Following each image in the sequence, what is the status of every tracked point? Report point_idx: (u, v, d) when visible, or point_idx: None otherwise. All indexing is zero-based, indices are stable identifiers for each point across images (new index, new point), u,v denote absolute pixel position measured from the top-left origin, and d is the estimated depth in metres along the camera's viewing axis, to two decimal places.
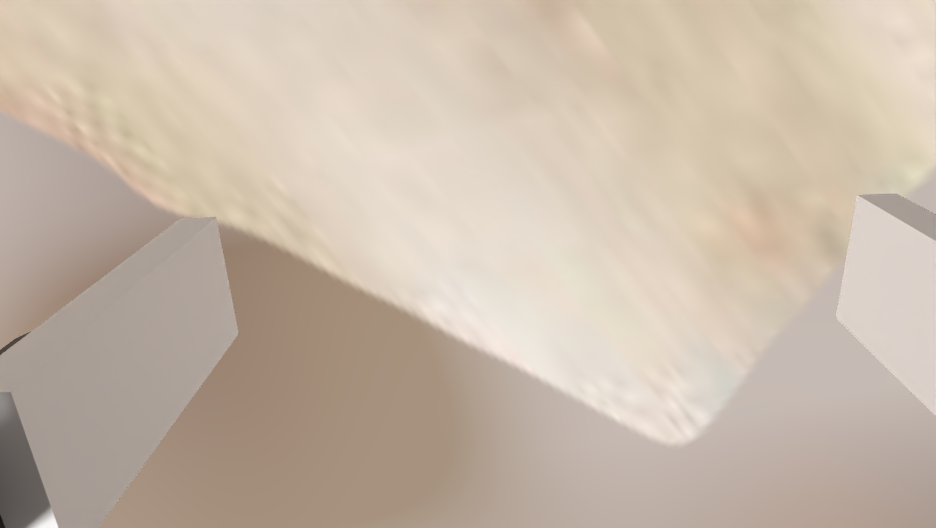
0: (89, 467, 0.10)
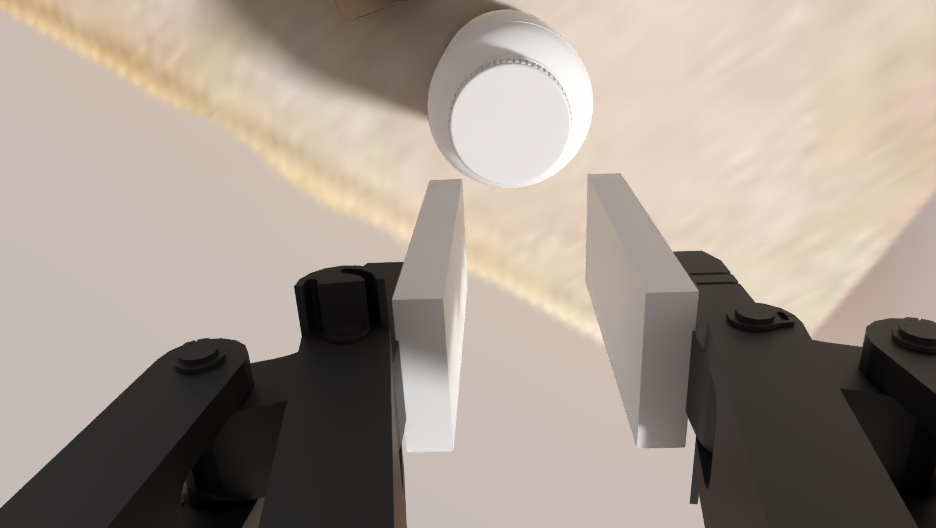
0: (453, 373, 0.11)
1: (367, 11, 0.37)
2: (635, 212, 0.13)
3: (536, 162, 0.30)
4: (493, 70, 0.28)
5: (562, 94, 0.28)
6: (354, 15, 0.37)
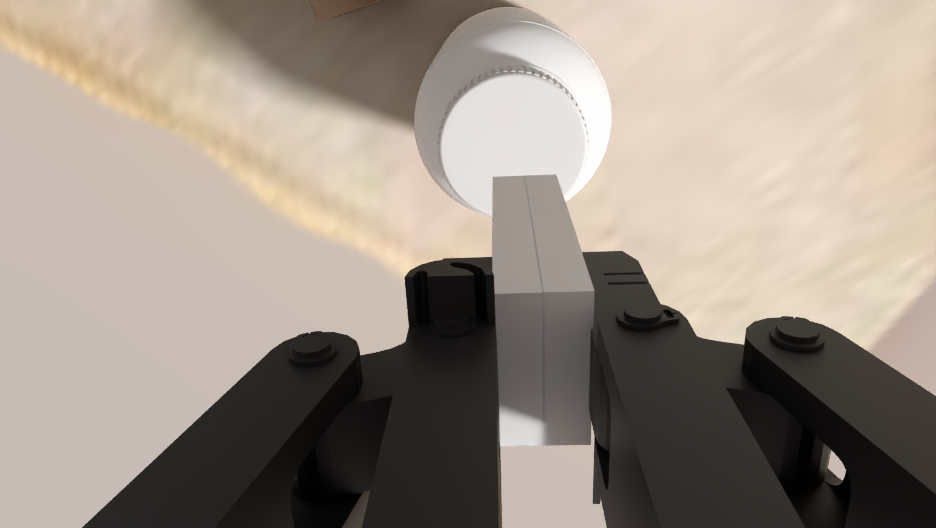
0: None
1: (346, 9, 0.32)
2: (558, 213, 0.13)
3: None
4: (492, 82, 0.23)
5: (577, 111, 0.23)
6: (331, 14, 0.32)
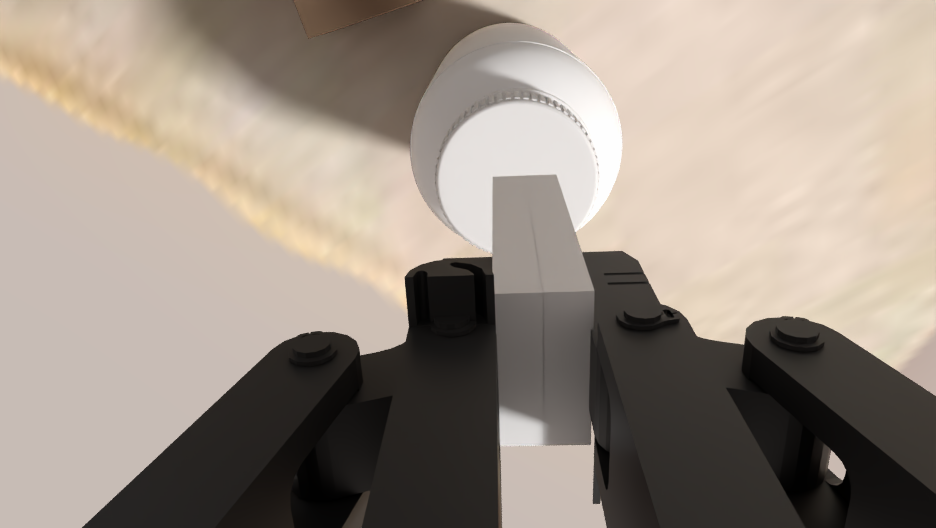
0: None
1: (338, 26, 0.30)
2: (558, 213, 0.13)
3: None
4: (494, 109, 0.21)
5: (586, 141, 0.21)
6: (322, 31, 0.30)
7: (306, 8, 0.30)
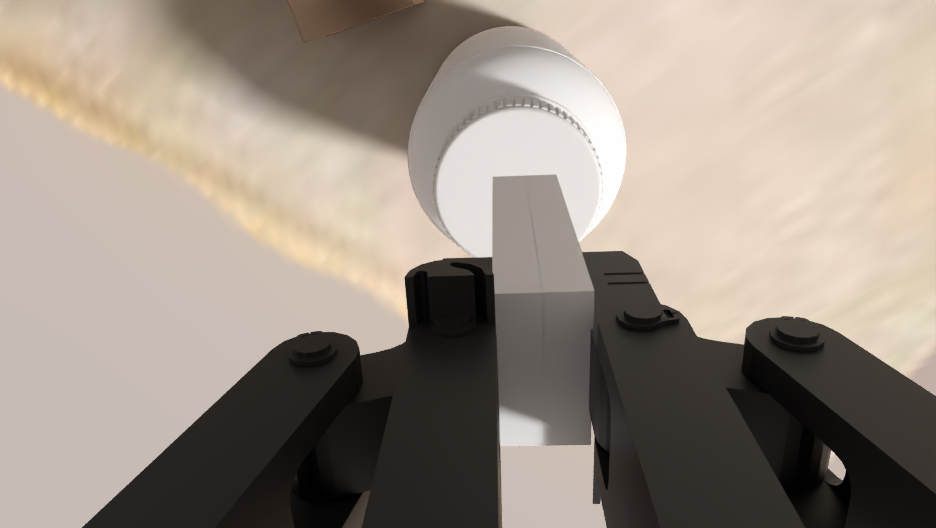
0: None
1: (334, 30, 0.29)
2: (558, 213, 0.13)
3: None
4: (494, 117, 0.20)
5: (590, 149, 0.21)
6: (318, 35, 0.29)
7: (302, 11, 0.29)
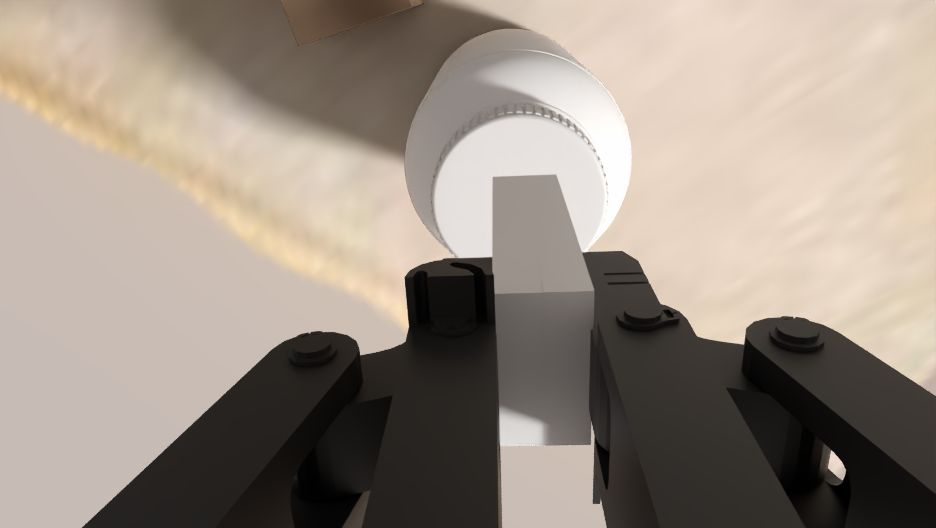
0: None
1: (329, 32, 0.28)
2: (558, 213, 0.13)
3: None
4: (495, 124, 0.19)
5: (594, 158, 0.20)
6: (313, 38, 0.28)
7: (296, 13, 0.28)
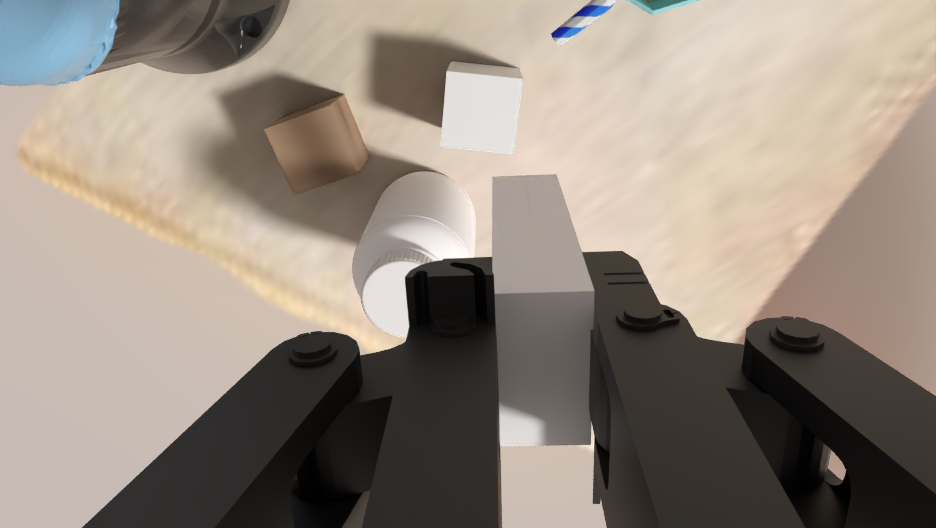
0: None
1: (312, 187, 0.49)
2: (558, 213, 0.13)
3: None
4: (389, 265, 0.40)
5: None
6: (302, 190, 0.49)
7: (292, 178, 0.49)
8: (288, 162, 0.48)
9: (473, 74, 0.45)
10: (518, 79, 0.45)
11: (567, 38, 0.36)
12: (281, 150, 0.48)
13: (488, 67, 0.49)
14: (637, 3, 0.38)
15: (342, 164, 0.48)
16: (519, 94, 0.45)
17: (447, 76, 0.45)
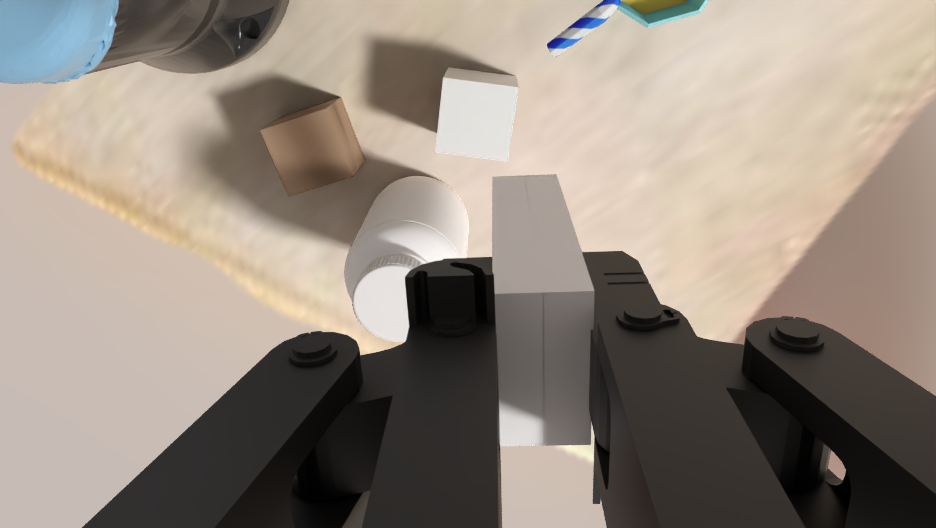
0: None
1: (306, 189, 0.49)
2: (558, 213, 0.13)
3: None
4: (380, 269, 0.40)
5: None
6: (297, 192, 0.49)
7: (287, 179, 0.49)
8: (283, 164, 0.49)
9: (469, 81, 0.45)
10: (514, 87, 0.45)
11: (562, 49, 0.36)
12: (277, 152, 0.48)
13: (485, 74, 0.49)
14: (633, 15, 0.39)
15: (337, 166, 0.49)
16: (514, 102, 0.45)
17: (443, 82, 0.45)
